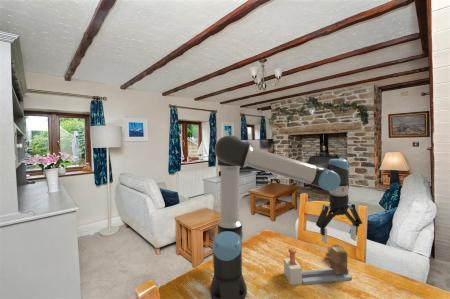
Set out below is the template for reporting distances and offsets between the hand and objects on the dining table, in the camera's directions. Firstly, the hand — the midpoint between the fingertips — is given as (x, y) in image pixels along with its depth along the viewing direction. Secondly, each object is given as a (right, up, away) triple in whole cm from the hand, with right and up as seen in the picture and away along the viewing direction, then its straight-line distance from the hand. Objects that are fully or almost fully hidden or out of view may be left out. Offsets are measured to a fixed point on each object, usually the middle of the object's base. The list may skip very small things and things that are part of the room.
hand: (339, 240), depth 96 cm
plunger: (-21, -10, 0) cm, 23 cm away
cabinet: (-21, -17, 0) cm, 27 cm away
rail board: (-7, -17, 0) cm, 18 cm away
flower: (+5, -16, +12) cm, 21 cm away
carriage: (0, -14, +1) cm, 14 cm away
